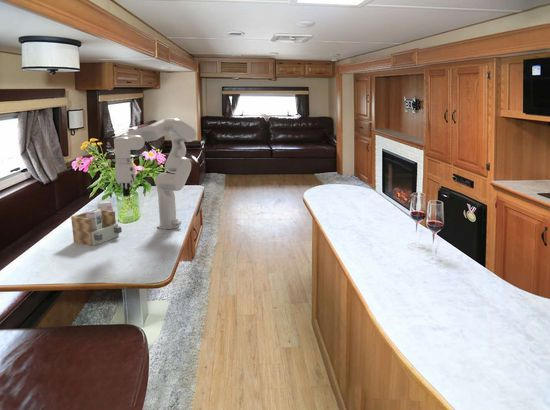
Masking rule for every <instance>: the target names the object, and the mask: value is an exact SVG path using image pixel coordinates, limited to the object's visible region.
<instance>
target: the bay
mask: <svg viewBox="0 0 550 410" xmlns="http://www.w3.org/2000/svg"><path fill="white" fill-rule="evenodd" d="M100 210H101V209H100ZM86 212H87V211H85V212H83V213H80V214H76V215H71V216H70V217H71V227H72V235H73V237H72V239H73V243H76V244H80V245H81V244H82V245H87V246H94V245H93V244H92V234H91V232H92V222H91V219H88V218H86ZM101 213H102V221H103V228H105V227H108V226H111V225H114V224H117V221H116V211H114V210H113V211H108V210H101Z"/></svg>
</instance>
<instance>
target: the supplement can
mask: <svg viewBox="0 0 550 410" xmlns="http://www.w3.org/2000/svg"><path fill="white" fill-rule="evenodd" d="M113 205H114V204H113V203H112V201H111V200H103V201H99V202H98V204H97V209H101V210H108V211H114V207H113Z"/></svg>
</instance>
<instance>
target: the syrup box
mask: <svg viewBox="0 0 550 410" xmlns="http://www.w3.org/2000/svg"><path fill="white" fill-rule="evenodd" d="M85 212H86V218H88V219H91V222H92V232H94V231H97V230H99V229H102V228H103V221H102V213H101V210H100V209H98V208H95V209H90V210H88V211H85Z"/></svg>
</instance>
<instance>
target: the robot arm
mask: <svg viewBox="0 0 550 410" xmlns="http://www.w3.org/2000/svg"><path fill="white" fill-rule="evenodd" d="M168 134H169V137H170V140H171V141H170V142H171V145H172V146H171V149H170V152H169V154H168V157H167V159H166V161H165V164H164V169H165V170H166V171H167V172H160V173H158V174H157V175H156V176H155V179H154V183H155V186H156V187H155V188H156V191H157V198H158V199H157V200H158V213H159V214H158V216H159V223H158V224H157V226H156V227H157V228H158V229H160V230H172V229H177V228H179V227H180V226H181V224H182V221H179V218H177V207H176V206H177V205H176V195H175V192H178V191H179V192H180V191H181V190H182V189H183V188H184V187H185V184H186V183H187V180H188V178H189V176H190V173H191V171H192V162H191V160H190V159H189V158H188V157H186V154H187V148H186V144H185V142H186V143H190V142H193V141H194V140H196V138H197V132H196V129H195V128H194V127H192V126H191V125H190V124H188V123H186V122H185V121H183V120H181V119H180V118H175V117H174V118H172V117H171V118H169V117H167V118H165V117H164V118H161V119H160V120H158V121H155V122H153V123H151V124H150V125H145V126H142V127H139V128H136V129H133V130H129V131H127V132H126V133H125V132H124V133H123V134H122V135H120V136H118V137H116V136H115V137H114V138H113V145H114V154H115V155H114V156H115V169H114V175H115V181H116V184H117V185H119V186H120V187H121V189H122V194H123V197H129V196H131V192H130V188H131V187H132V186H135V182H136V181H137V177H136V172H135V167H134V164H133V163H132V162H133V160H132V159H131V158H132V155H131V151H135V150H136V151H138V150H141V149H142V148H144V147H145V144H146V143H145V142H153V141H156V140H159V139H161V138H163V137H164V136H166V135H168Z"/></svg>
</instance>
